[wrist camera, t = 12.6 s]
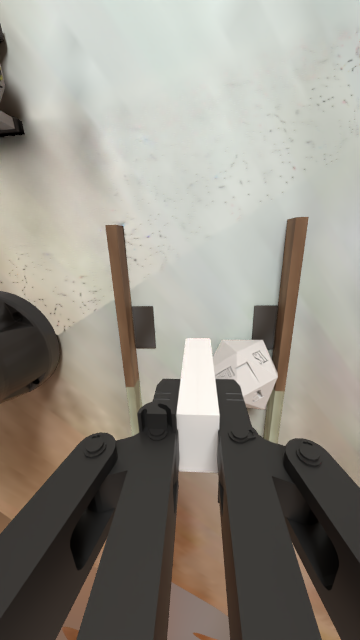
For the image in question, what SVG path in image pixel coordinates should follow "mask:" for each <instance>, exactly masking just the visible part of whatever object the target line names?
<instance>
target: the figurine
mask: <svg viewBox="0 0 360 640" xmlns="http://www.w3.org/2000/svg"><path fill="white" fill-rule="evenodd" d="M1 40H4V38H3V33H2V29H1V24H0V42H1ZM4 89H5V83H4V78H3V74H2V69H1V65H0V102H1V99H2V95H3V92H4ZM24 134H25V133H24V129H23V124H22V121H21V120H19V119H17V118H15V117H13V116H11V117H10V116H8V115H7V114H5V113H4V112H2V111H0V137H5V136H15V135H24Z"/></svg>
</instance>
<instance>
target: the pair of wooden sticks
mask: <svg viewBox="0 0 360 640" xmlns="http://www.w3.org/2000/svg"><path fill="white" fill-rule="evenodd" d="M307 225H308V217H296V218H292V219H288V221H287V230H286V239H285V248H284V257H283V266H282V275H281V284H280V293H279V302H278V306H255V307H254V320H253V333H252V340H263V341H264V343H265V346H266V348H267V349H273V356H272V361H273V364H274V366H275V368H276V371H277V373H278V378H277V380H276V383H275V385H274V388H273V390H272V392H271V395H270V397H269V400H268V402H267V410H266V419H265V428H264V437H263V438H264V439H266V440H268V441H270V442H273V443H276V444H277V443H278V436H279V428H280V421H281V414H282V407H283V399H284V392H285V385H286V377H287V370H288V363H289V356H290V348H291V341H292V334H293V326H294V319H295V312H296V305H297V297H298V290H299V283H300V276H301V268H302V261H303V254H304V246H305V239H306V232H307ZM105 226H106V234H107V242H108V249H109V257H110V265H111V273H112V281H113V289H114V297H115V305H116V313H117V321H118V328H119V336H120V344H121V352H122V360H123V368H124V376H125V384H126V392H127V400H128V407H129V415H130V423H131V431H132V436H134V435H136V434H138V433H139V426H138V417H137V413H138V411H139V409H140V408H141V407H142V402H141V393H140V383H139V373H138V364H137V354H136V348H156V343H155V329H154V316H153V306H131V296H130V286H129V277H128V267H127V257H126V248H125V238H124V228H123V226H119V225H105ZM277 308H278V311H277ZM132 313H133V315H132ZM276 317H277V320H276ZM133 323H134V325H133ZM275 327H276V329H275ZM134 332H135V335H134ZM274 336H275V338H274ZM135 342H136V344H135ZM273 345H274V347H273Z"/></svg>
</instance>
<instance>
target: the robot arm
mask: <svg viewBox="0 0 360 640" xmlns="http://www.w3.org/2000/svg"><path fill="white" fill-rule="evenodd" d="M58 361H59V343H58V339H57V336H56V334H55V331H54V329H53V327H52V326H51V324H50V322H49V321H48V320H47V318H46V317H45V316H44V315H43V314H42V313H41V311H40V310H38V309H37V308H36V307H35V306H34V305H32V304H31V303H30V302H28V301H27V300H25V299H23V298H21V297H19V296H17V295H14V294H11V293H8V292H3V291H0V404H1V403H3V402H6V401H8V400H11V399H13V398H15V397H18V396H20V395H23V394H25V393H28V392H30V391H32V390H34V389H35V388H37V387H39V386H40V385H41V384H42V383H43V382H44V381H46V380H47V379H48V378H49V377H50V376H51V375H52V374H53V372H54V371H55V369H56V367H57V364H58ZM137 417H138V426H139V433H138V434H136V435H134V436H132V437H129V438H125V439H121V440H117V441H115V439H114V437H113V436H112V435H110V434H108V433H96V434H92V435H90V436H88V437H86V438H85V439H84V440H82V441H81V442H80V443H79V444H78V445H77V446H76V448H75V449H74V450H73V451H72V452H71V453H70V454H69V456H68V457H67V458H66V459H65V460H64V461H63V463H62V464H61V465H60V466H59V467H58V468H57V469H56V471H55V472H54V473H53V474H52V475H51V476H50V477H49V479H48V480H47V481H46V482H45V483H44V484H43V485H42V487H41V488H40V489H39V490H38V491H37V492H36V494H35V495H34V496H33V497H32V498H31V499H30V500H29V502H28V503H27V504H26V505H25V506H24V507H23V508H22V510H21V511H20V512H19V513H18V514H17V515H16V516H15V518H14V519H13V520H12V521H11V522H10V523H9V525H8V526H7V527H6V528H5V529H4V530H3V532H2V533H1V534H0V640H55V639H56V638H57V636H58V634H59V632H60V630H61V628H62V625H63V624H64V621H65V619H66V618H67V616H68V614H69V612H70V610H71V608H72V606H73V604H74V602H75V600H76V598H77V596H78V594H79V592H80V590H81V588H82V586H83V584H84V582H85V580H86V578H87V576H88V574H89V572H90V570H91V568H92V566H93V564H94V562H95V560H96V558H97V556H98V554H99V552H100V550H101V548H102V546H103V544H104V542H105V541H106V544H105V547H104V550H103V554H102V557H101V560H100V563H99V567H98V570H97V573H96V577H95V580H94V583H93V587H92V590H91V593H90V597H89V600H88V604H87V607H86V610H85V613H84V616H83V620H82V623H81V626H80V630H79V633H78V636H77V640H167V631H168V618H169V605H170V591H171V579H172V566H173V553H174V540H175V526H176V513H177V500H178V487H179V485H178V471H186V472H207V473H218V475H219V483H218V503H220V515H221V528H222V541H223V553H224V566H225V579H226V591H227V604H228V617H229V628H230V640H322V639H321V636H320V632H319V629H318V626H317V623H316V619H315V616H314V613H313V610H312V606H311V603H310V600H309V597H308V593H307V590H306V587H305V584H304V580H303V577H302V574H301V571H300V567H299V564H298V561H297V558H296V554H295V551H294V548H293V545H294V547H295V549H296V551H297V553H298V555H299V557H300V559H301V561H302V563H303V565H304V567H305V569H306V571H307V573H308V575H309V577H310V579H311V581H312V583H313V585H314V587H315V589H316V591H317V593H318V594H319V596H320V598H321V600H322V602H323V604H324V606H325V608H326V610H327V612H328V614H329V616H330V618H331V620H332V622H333V624H334V626H335V628H336V630H337V632H338V634H339V636H340V638H341V640H360V488H359V487H358V486H357V484H356V483H355V482H354V481H353V480H352V479H351V478H350V477H349V475H348V474H347V473H346V472H345V471H344V470H343V469H342V468H341V467H340V465H339V464H338V463H337V462H336V461H335V460H334V459H333V458H332V456H331V455H330V454H329V453H328V452H327V451H326V450H325V449H324V448H322V447H321V446H320V445H318V444H316V443H314V442H313V441H310V440H306V439H298V438H295V439H292V440H290V441H289V442H288V443H287V444H286V446H283V445H280V444H276V443H273V442H270V441H268V440H266V439H264V438H262V437H261V436H259V435H258V433H257V431H256V430H255V429H254V428H253V427H252V425H251V422H250V419H249V415H248V412H247V408H246V405H245V401H244V398H243V395H242V391H241V387H240V385H239V384H238V383H237V382H236V381H235V380H234V379H215V373H214V365H213V357H212V349H211V341H210V338H186V341H185V349H184V357H183V365H182V373H181V379H162V381H161V382H160V383H159V384H158V385H157V388H156V391H155V395H154V399H153V402H150V403H148V404H145V405H144V406H143V407H141V408H140V409H139V411H138V413H137ZM106 539H107V540H106ZM292 543H293V545H292Z"/></svg>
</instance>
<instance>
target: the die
mask: <svg viewBox="0 0 360 640" xmlns="http://www.w3.org/2000/svg"><path fill="white" fill-rule="evenodd" d="M213 365H214V373H215V379H234V380H235V381H236V382H237V383H238V384H239V385H240V387H241V391H242V395H243V398H244V401H245V405H246V407H247V408H255V409H265V407H266V404H267V402H268V400H269V397H270V395H271V392H272V390H273V388H274V385H275V383H276V380H277V378H278V373H277V371H276V368H275V366H274V364H273V361H272V359H271V357H270V355H269V352H268V350H267V348H266V346H265V343H264V341H263V340H222V341H221V342H220V344H219V346H218V348H217V350H216V352H215V354H214V356H213Z"/></svg>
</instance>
